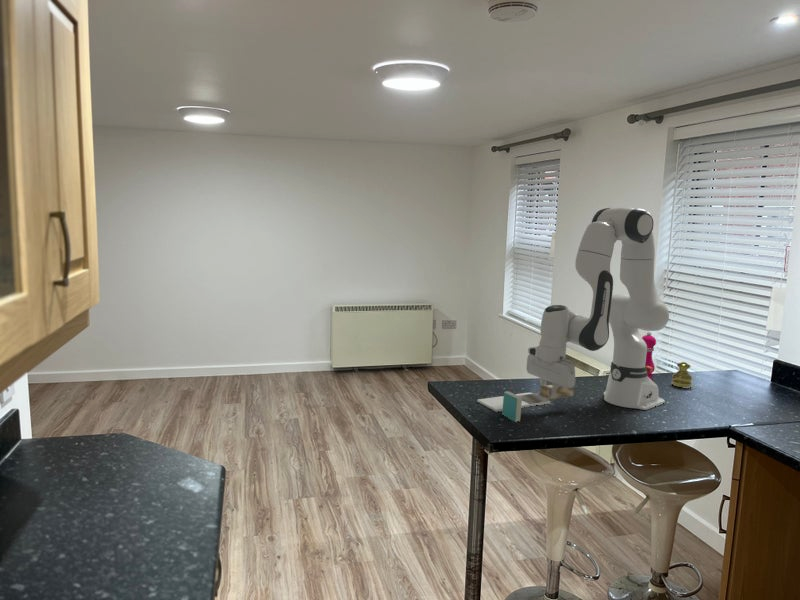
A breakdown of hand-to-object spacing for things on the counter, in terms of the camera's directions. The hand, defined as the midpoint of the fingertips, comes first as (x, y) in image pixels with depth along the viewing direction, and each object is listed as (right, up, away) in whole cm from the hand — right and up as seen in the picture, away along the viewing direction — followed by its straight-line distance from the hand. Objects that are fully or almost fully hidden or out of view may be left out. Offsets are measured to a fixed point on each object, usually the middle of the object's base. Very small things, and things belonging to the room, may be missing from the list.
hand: (548, 393), depth 199 cm
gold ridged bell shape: (+64, -4, +40) cm, 76 cm away
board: (-10, -5, +9) cm, 14 cm away
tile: (-14, -7, -6) cm, 17 cm away
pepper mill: (+53, -2, +50) cm, 73 cm away
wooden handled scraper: (0, -2, 0) cm, 2 cm away
